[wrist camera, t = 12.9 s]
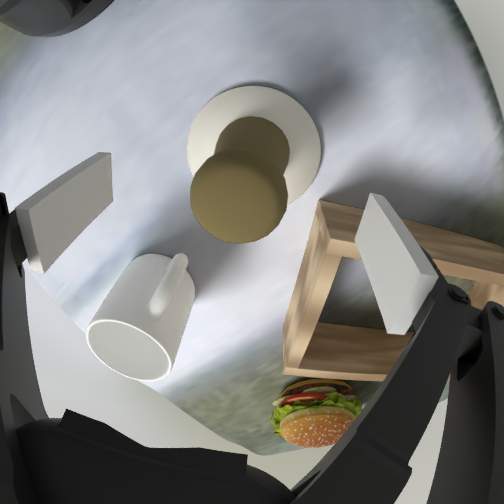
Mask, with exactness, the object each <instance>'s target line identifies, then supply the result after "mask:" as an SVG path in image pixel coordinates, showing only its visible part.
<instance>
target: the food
mask: <svg viewBox="0 0 504 504" xmlns="http://www.w3.org/2000/svg"><path fill="white" fill-rule="evenodd" d="M273 405H274V406H275V407H276V410H274V411H273V413H272V414H271V415H270V417H269V418H270V419H271V420H270V421H271V423H272V424H274V429H276V430H275V431H274V434H276V435H279V436H280V437H283V438H284V439H286V440H287V441H288V442H290V443H292V444H294V445H297V446H302V447H313V448H315V447H317V448H318V447H324V446H328V445H332V444H335V443H336V442H337V441H338V440H339V439H340V438H341V436H342V435H343V434H344V433H345V432H346V430H347V429H348V428H349V427H350V425H351V424H352V423H353V422H354V420H355V419H356V418H357V416H358V415H359V414H360V412H361V411H362V403H361V401H360V400H358V399H357V398H356V394H355V392H354V390H353V389H352V388H351V386H349V385H348V384H347V383H345V382H343V381H339V380H334V379H328V378H324V379H309V380H305V381H301V382H297V383H295V384H293V385H291V386H289V387H287V388H286V389H285V390H284V391H283V392H282V393H281V394H280V395H279V398H278V399H276V400H274V401H273Z"/></svg>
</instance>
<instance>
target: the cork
mask: <svg viewBox="0 0 504 504" xmlns="http://www.w3.org/2000/svg"><path fill="white" fill-rule="evenodd" d="M289 155H290V148H289V143H288V139H287V138H286V136H285V134H284V133H283V131H282V130H281V129H280V128H279V127H278V126H277V125H276V124H274V123H273V122H271V121H269V120H267V119H264V118H262V117H253V116H248V117H244V118H239V119H237V120H235V121H233V122H232V123H230V124H228V125H227V126H226V127H225V129H224V130H223V131H222V132H221V133H220V135H219V138H218V140H217V143H216V146H215V151H214V155H213V156H211V157H209V158H208V159H207V160H206V161H205V162H204V163H203V164H202V166H201V167H200V168H199V169H198V171H197V172H196V173H195V176H194V179H193V181H192V184H191V190H190V202H191V207H192V210H193V213H194V216H195V218H196V219H197V221H198V222H199V223H200V225H201V226H202V227H203V229H205V230H206V231H207V232H209V233H210V234H211V235H213V236H214V237H215V238H218V239H220V240H223V241H225V242H230V243H238V244H242V243H248V242H254V241H257V240H259V239H261V238H263V237H265V236H267V235H269V234H270V233H271V232H272V231H273V230H274V229H275V228H276V227H277V226H278V225H279V223H280V221H281V219H282V217H283V215H284V213H285V212H286V208H287V201H288V191H287V186H286V181H285V177H284V176H283V175H284V173H285V170H286V167H287V165H288V162H289Z"/></svg>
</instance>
